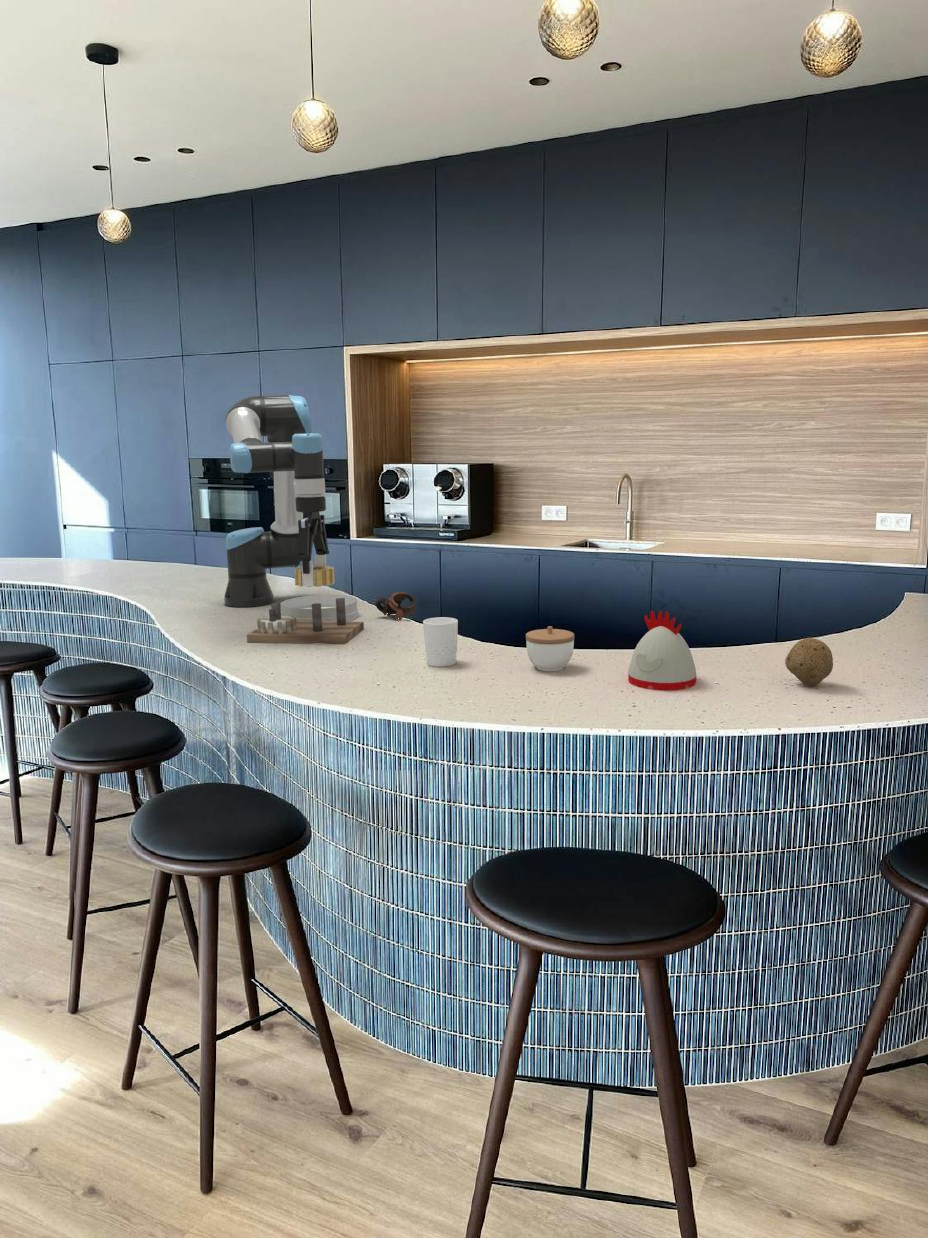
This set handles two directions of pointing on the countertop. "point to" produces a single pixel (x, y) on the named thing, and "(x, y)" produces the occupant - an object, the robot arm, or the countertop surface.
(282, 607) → the dish
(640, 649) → the kitchen timer
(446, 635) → the white cup
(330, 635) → the gear board
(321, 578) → the brass gear
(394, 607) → the brown curved piece
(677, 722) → the countertop surface
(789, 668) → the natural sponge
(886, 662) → the countertop surface
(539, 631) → the lidded jar
